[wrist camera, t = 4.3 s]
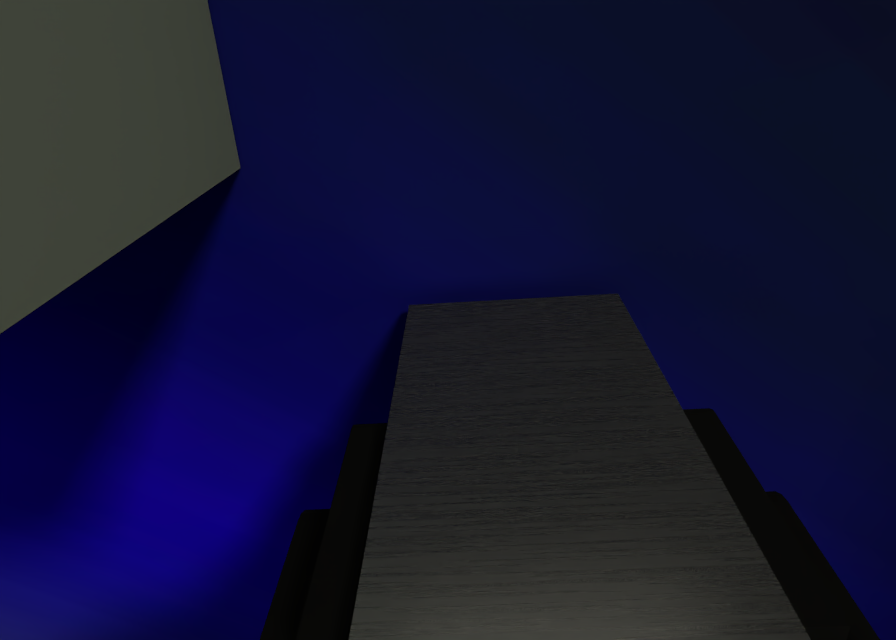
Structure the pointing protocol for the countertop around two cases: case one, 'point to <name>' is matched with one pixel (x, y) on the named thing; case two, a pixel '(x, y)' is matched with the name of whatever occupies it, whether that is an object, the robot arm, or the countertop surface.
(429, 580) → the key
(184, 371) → the countertop surface
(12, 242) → the grey hollow block
